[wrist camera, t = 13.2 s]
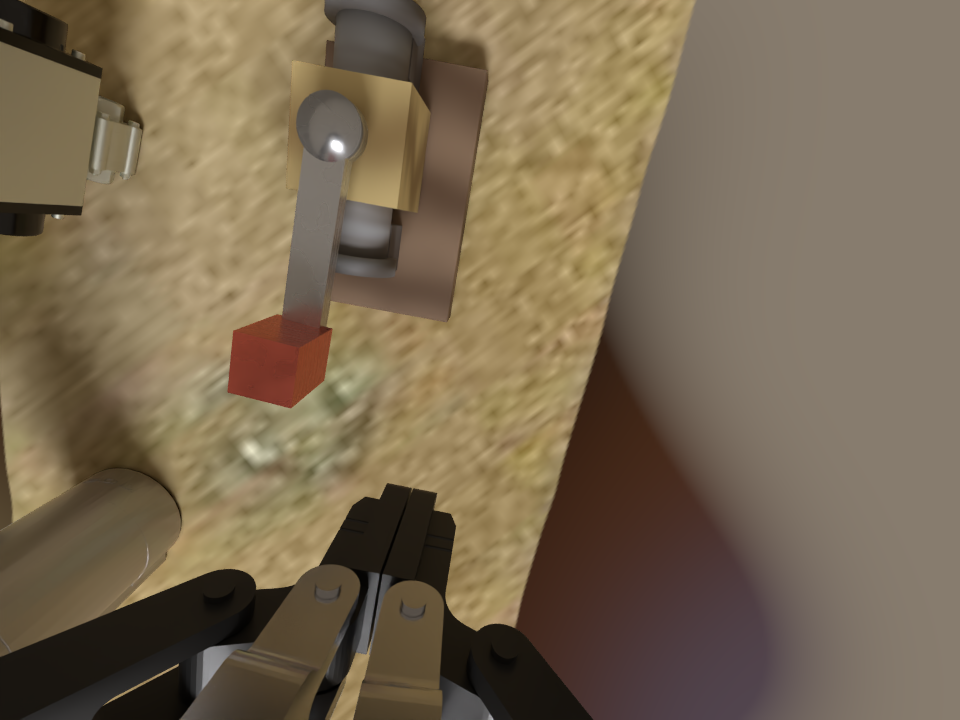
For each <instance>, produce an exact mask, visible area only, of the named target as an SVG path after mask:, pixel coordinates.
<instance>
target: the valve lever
mask: <svg viewBox="0 0 960 720" xmlns="http://www.w3.org/2000/svg"><path fill="white" fill-rule="evenodd" d="M296 128H297V133H298V137H299V139H300V141H301V143H302V145H303V146H304V149H303V156H302V164H301V172H300V180H299V188H298V196H297V204H296V211H295V219H294V227H293V235H292V243H291V251H290V259H289V266H288V274H287V282H286V290H285V298H284V306H283V314H282V316H281V315H274V316H272V317H269V318H266V319H264V320H261V321H258V322H256V323H253V324H250V325H248V326H245V327H242V328H240V329H237V330H234V331H233V340H232V350H231V361H230V371H229V382H228V393H232V394H236V395H240V396H244V397H248V398H252V399H256V400H260V401H264V402H268V403H272V404H276V405H280V406H284V407H288V408H292V407H293V406H294V405H296V404H297V403H298V402H299V401H300V400H301V399H303V398H304V397H305V396H306V395H307V394H309V393H310V392H311V391H312V390H313V389H315V388H316V387H317V386H318V385H319V384H320V383H322V382H323V381H324V378H325V372H326V365H327V359H328V353H329V347H330V341H331V335H332V328H328V327H326V326H327V320H328V314H329V307H330V301H331V295H332V288H333V282H334V276H335V269H336V263H337V257H338V250H339V244H340V238H341V231H342V225H343V219H344V212H345V206H346V200H347V193H348V187H349V181H350V174H351V168H352V163H353V162H354V161H356V160H357V159H358V158H359V157H360V156H361V155H362V153H363V152H364V150H365V148H366V145H367V141H368V127H367V123H366V120H365V118H364V116H363V114H362V112H361V111H360V110H359V109H358V107H357V106H355V105H354V104H353V103H352V102H351V101H350V100H348V99H347V98H346V97H345V96H343V95H342V94H340V93H338V92H335V91H332V90H319V91H316V92H314V93H312V94H310V95H309V96H307V97H306V98H305V99H304V101H303V102H302V103H301V105H300V107H299V109H298V112H297V117H296Z"/></svg>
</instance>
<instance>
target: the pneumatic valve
mask: <svg viewBox="0 0 960 720" xmlns="http://www.w3.org/2000/svg"><path fill="white" fill-rule="evenodd" d="M67 31H68V24H67V23H65V22H63V21H61V20H59V19H57V18H55V17H53V16H51V15H49V14H47V13H45V12H42V11H40V10H38V9H36V8H34V7H32V6H30V5H27V4H25V3H23V2H21V1H19V0H0V234H2V235H10V236H36V235H39V234H41V233H42V232H43V228H44V220H45V214H51V216H52V217H54V218H57V219H64V215H81V214H82V207H83V200H84V193H85V186H86V179H87V180H91V181H94V182H98V183H103V184H112V182H113V180H114V174H115V172H120V176H121V177H122V179H125V180H128V179H130V178H131V175H135V171H136V165H137V159H138V153H139V148H140V142H141V136H142V129H140V127H139V126H140V124H139V123H137V122H134V121H131V120H129V122H128V123H125V122H123V119H124V112H125V107H124V106H123V105H121V104H119V103H117V102H114V101H112V100H109V99H107V98H104V97H102V96H99V89H100V82H101V75H102V68H100V67H98V66H96V65H94V64H91V63H89V62H87V61H85V56H86V55H85V54H83V53H81V52H79V51H76V50H74V49H72V54H68V53H66V52H65V47H66V39H67Z"/></svg>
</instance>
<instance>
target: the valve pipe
mask: <svg viewBox="0 0 960 720" xmlns="http://www.w3.org/2000/svg"><path fill="white" fill-rule="evenodd" d="M324 12H325V15H326V17H327V18H328V19H329V20H330V21H331V22H332V23H333V24H334V25H335V26H336V29H335V42H334V41H328V40H327V44H326V59H325V66H320V65H315V64H310V63H304V62H299V61H294V60H292V74H291V95H290V115H289V135H288V155H287V175H286V188H287V189H292V190H298V188H299V180H300V172H301V164H302V156H303V149H304V146H303V145H302V143H301V141H300V139H299V137H298V133H297V128H296V117H297V112H298V109H299V107H300V105H301V103H302V102H303V101H304V99H305V98H306V97H307V96H309V95H310V94H312V93H314V92H316V91H319V90H332V91H335V92H338V93H340V94H342V95H343V96H345V97H346V98H347V99H348V100H350V101H351V102H352V103H353V104H354V105H355V106H357V107H358V109H359V110H360V111H361V112H362V114H363V116H364V118H365V120H366V123H367V127H368V141H367V145H366V148H365V150H364V152H363V153H362V155H361V156H360V157H359V158H358V159H357V160H356V161H354V162H353V163H352V168H351V174H350V181H349V187H348V193H347V200H346V206H345V212H344V219H343V225H342V231H341V238H340V244H339V250H338V257H337V263H336V269H335V276H334V282H333V288H332V295H331V301H335V302H340V303H346V304H351V305H357V306H362V307H367V308H373V309H378V310H384V311H389V312H394V313H400V314H405V315H410V316H416V317H421V318H427V319H432V320H437V321H443V322H447V321H448V320H449V318H450V314H451V308H452V302H453V295H454V289H455V283H456V277H457V271H458V264H459V258H460V252H461V246H462V240H463V234H464V227H465V221H466V215H467V209H468V203H469V196H470V190H471V184H472V178H473V172H474V165H475V159H476V153H477V147H478V141H479V134H480V128H481V122H482V116H483V110H484V103H485V97H486V91H487V85H488V74H487V70H483V69H478V68H472V67H467V66H462V65H456V64H451V63H446V62H440V61H435V60H430V59H424V58H423V55H424V46H425V38H424V32H425V24H426V15H425V13H424V11H423V10H422V8H421V7H420V6H419V5H418V4H416V3H415V2H414V1H413V0H325V9H324Z"/></svg>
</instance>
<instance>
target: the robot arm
mask: <svg viewBox="0 0 960 720" xmlns="http://www.w3.org/2000/svg"><path fill="white" fill-rule="evenodd" d="M411 491H412V493H411ZM436 497H437V493H434V492H429V491H424V490H419V489H415V488H413V490H412V488H409V487H404V486H399V485H394V484H389V483H387V485H386V487H385V489H384V491H383V493H382V495H381V498H380V499H375V498H370V497H364V498H363V499H361V500H360V501H359V502H357V503H356V504H354V505H353V506H352V508H351V509H350V511H349V513H348V515H347V517H346V519H345V520H344V522H343V524H342V526H341V527H340V530H339V531H338V533H337V535H336V536H335V538H334V540H333V542H332V543H331V545H330V547H329V549H328V551H327V552H326V554H325V556H324V558H323V560H322V561H321V563H320V565H319V566H318V567H315V568H313V569H310V570H309V571H307V572H306V573H305V574H303V575H302V576H301V577H300V579H299V580H298V581H297V583H296V584H295V585H292V586H289V587H284V588H274V589H259V590H256V584H255V581H254V579H253V578H252V577H251V576H250V575H249V574H247V573H246V572H243V571H240V570H235V569H223V570H217V571H213V572H210V573H207V574H204V575H202V576H199V577H197V578H194V579H192V580H189V581H187V582H184V583H182V584H179V585H177V586H175V587H172V588H170V589H167V590H165V591H162V592H160V593H157V594H155V595H152V596H150V597H147V598H145V599H142V600H140V601H137V602H135V603H132V604H130V605H127V606H125V607H123V608H120V609H118V610H115V609H116V608H117V607H118V606H119V605H120V604H121V603H122V602H123V601H124V600H125V599H127V598H128V597H129V596H130V595H131V594H132V593H133V592H134V591H135V590H136V589H137V588H138V587H139V586H140V585H141V584H142V583H143V582H144V581H145V580H146V579H147V578H148V577H149V576H150V575H151V574H152V573H153V572H154V571H155V570H156V569H157V568H158V567H159V566H160V565H161V564H162V563H163V562H164V561H165V560H166V551H167V550H168V549H169V548H170V547H171V546H172V545H173V544H174V543H175V542H176V540H177V538H178V537H179V533H180V529H181V518H180V514H179V510H178V508H177V506H176V503H175V501H174V500H173V498H172V497H171V496H170V494H169V493H168V492H167V491H166V490H165V489H164V488H163V487H162V486H161V485H160V484H159V483H158V482H156V481H155V480H153V479H152V478H150V477H148V476H146V475H144V474H142V473H140V472H137V471H133V470H129V469H121V468H114V469H106V470H103V471H101V472H98V473H96V474H94V475H93V476H91V477H89V478H88V479H86V480H84V481H83V482H81V483H79V484H78V485H76V486H74V487H73V488H71V489H69V490H68V491H66V492H64V493H63V494H61V495H59V496H58V497H56V498H54V499H52V500H51V501H49V502H47V503H46V504H44V505H42V506H41V507H39V508H37V509H36V510H34V511H32V512H31V513H29V514H27V515H26V516H24V517H22V518H21V519H19V520H17V521H16V522H14V523H12V524H11V525H9V526H7V527H6V528H4V529H2V530H1V531H0V720H330V718H331V716H332V714H333V712H334V709H335V707H336V705H337V702H338V700H339V698H340V695H341V693H342V691H343V689H344V686H345V683H346V676H347V674H348V672H349V670H350V667H351V665H352V662H353V659H354V656H355V653H356V652H357V653H362V654H367V651H368V648H369V645H370V641H371V638H372V641H371V647H370V653H369V655H370V657H369V661H368V666H367V670H366V674H365V678H364V680H363V681H362V685H361V689H360V693H359V697H358V701H357V706H356V710H355V714H354V718H353V720H593V719H592V718H591V716H590V715H589V714H588V713H587V712H586V710H585V709H584V708H583V707H582V705H581V704H580V703H579V702H578V700H577V699H576V698H575V697H574V695H573V694H572V693H571V692H570V690H569V689H568V688H567V687H566V685H564V683H563V682H562V681H561V679H560V678H559V677H558V676H557V674H556V673H555V672H554V671H553V670H552V668H551V667H550V666H549V665H548V663H547V662H546V661H545V659H544V658H543V657H542V656H541V654H540V653H539V652H538V651H537V650H536V649H535V647H534V646H533V645H532V643H531V642H530V641H529V640H528V639H527V637H526V636H525V635H524V634H522V633H521V632H520V631H518V630H517V629H515V628H513V627H511V626H508V625H504V624H490V625H487V626H484V627H483V628H481V629H480V630H479V631H475V630H473V629H471V628H470V627H468V626H466V625H464V624H463V623H461V622H460V621H458V620H457V619H456V618H455V617H454V616H453V615H452V613H451V612H450V610H449V608H448V606H447V604H446V599H445V592H446V586H447V580H448V573H449V567H450V561H451V554H452V548H453V541H454V536H455V529H456V525H455V523H454V520H453V518H452V516H451V514H449V513H444V512H439V511H434V507H435V502H436ZM114 610H115V611H114ZM177 664H179V666H178V667H176V668H174V669H172V670H171V671H169V672H167V673H165V674H163V675H161V676H159V677H157V678H155V679H153V680H151V681H150V682H148V683H146V684H144V685H142V686H140V687H138V688H136V689H134V690H132V691H130V692H129V693H127V694H125V695H123V696H121V697H119V698H117V699H115V700H113V701H111V702H109V703H108V704H106V705H104V704H105V703H107V702H108V701H109V700H111V699H112V698H114V697H115V696H117V695H119V694H121V693H123V692H125V691H127V690H129V689H131V688H132V687H134V686H136V685H138V684H140V683H142V682H144V681H146V680H148V679H150V678H152V677H154V676H156V675H157V674H159V673H161V672H163V671H165V670H167V669H169V668H171V667H173V666H175V665H177ZM103 705H104V706H103Z"/></svg>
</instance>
